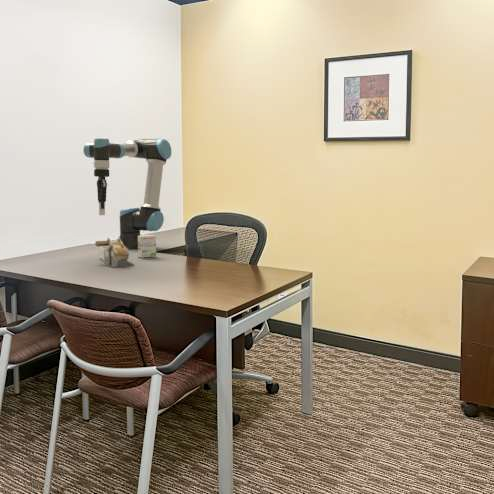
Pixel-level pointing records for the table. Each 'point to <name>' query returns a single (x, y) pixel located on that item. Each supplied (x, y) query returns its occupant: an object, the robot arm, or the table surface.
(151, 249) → the ink box
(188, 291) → the table surface
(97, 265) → the table surface
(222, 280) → the table surface
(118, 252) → the ball
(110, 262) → the stand
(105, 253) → the white open box
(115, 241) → the lever
